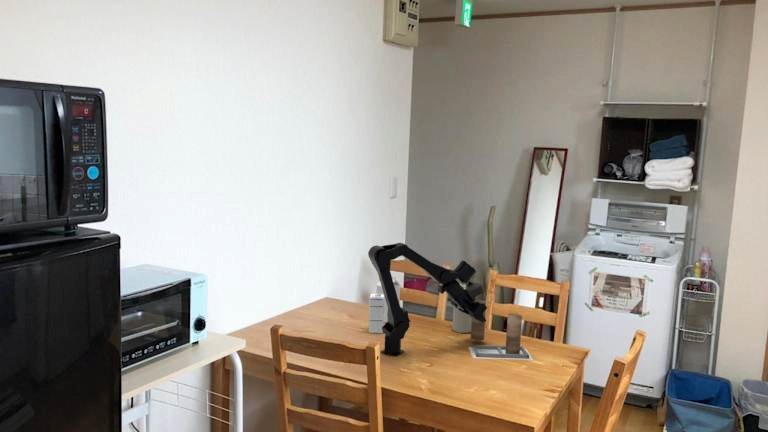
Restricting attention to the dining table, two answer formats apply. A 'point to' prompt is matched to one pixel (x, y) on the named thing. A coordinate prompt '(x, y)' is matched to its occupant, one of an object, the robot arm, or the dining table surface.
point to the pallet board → (497, 352)
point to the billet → (478, 327)
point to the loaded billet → (513, 333)
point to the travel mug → (461, 320)
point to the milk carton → (380, 291)
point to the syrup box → (376, 313)
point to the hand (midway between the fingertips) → (481, 319)
